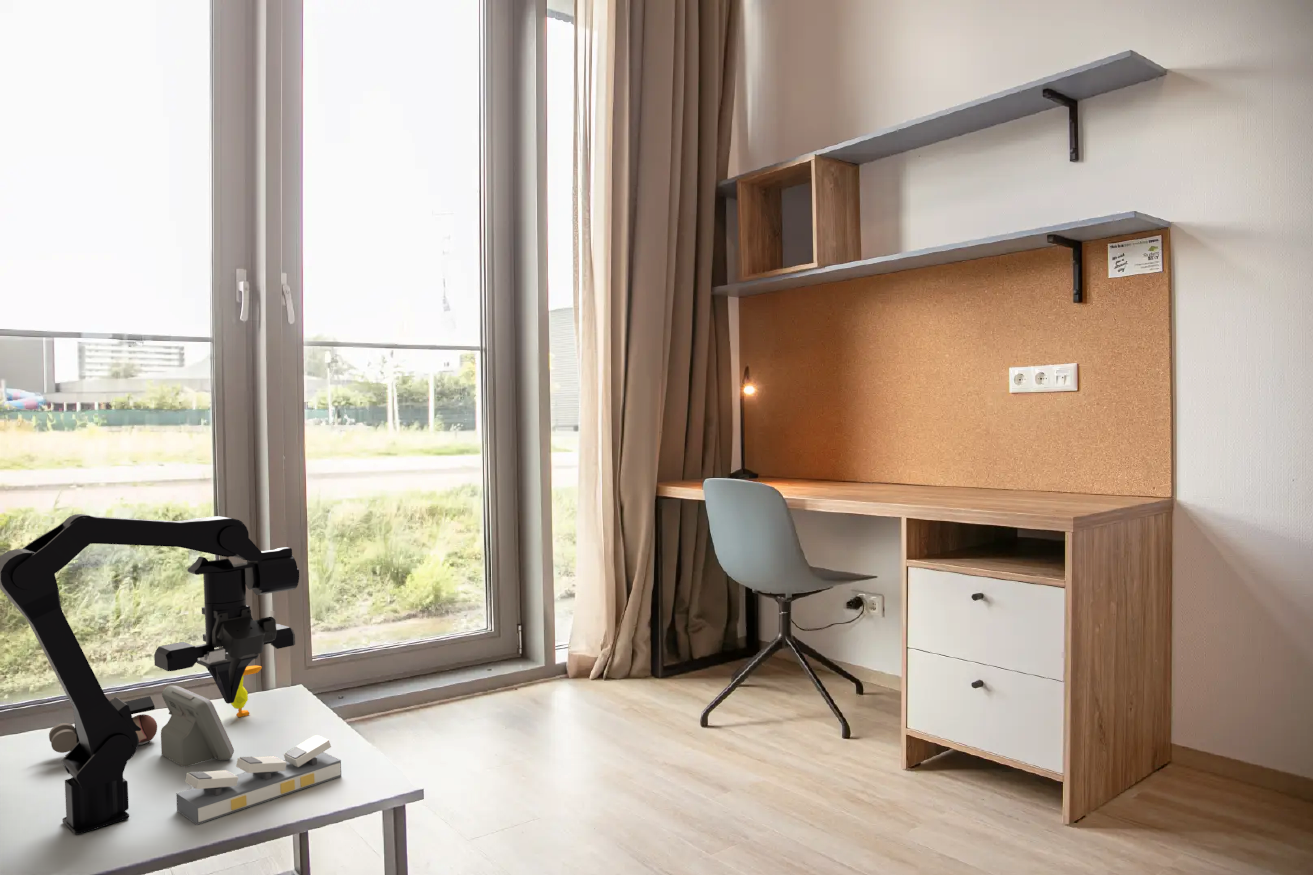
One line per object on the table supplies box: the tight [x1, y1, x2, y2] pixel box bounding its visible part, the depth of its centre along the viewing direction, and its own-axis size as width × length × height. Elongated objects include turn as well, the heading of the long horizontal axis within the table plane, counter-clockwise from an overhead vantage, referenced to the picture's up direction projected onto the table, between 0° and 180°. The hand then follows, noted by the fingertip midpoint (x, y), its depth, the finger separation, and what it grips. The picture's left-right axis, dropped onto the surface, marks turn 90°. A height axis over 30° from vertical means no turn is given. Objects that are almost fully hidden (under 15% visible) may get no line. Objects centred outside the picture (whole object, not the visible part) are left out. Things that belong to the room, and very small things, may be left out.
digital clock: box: [160, 685, 235, 768], centre depth 149 cm, size 16×9×11 cm, turn 37°
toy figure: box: [230, 665, 263, 718], centre depth 169 cm, size 7×4×12 cm, turn 127°
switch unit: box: [175, 751, 342, 825], centre depth 132 cm, size 21×7×3 cm, turn 138°
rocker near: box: [184, 769, 238, 789], centre depth 127 cm, size 6×4×1 cm
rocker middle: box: [235, 755, 287, 773], centre depth 132 cm, size 6×4×1 cm
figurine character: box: [48, 695, 158, 757], centre depth 152 cm, size 7×8×15 cm
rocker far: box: [282, 734, 332, 767], centre depth 137 cm, size 6×4×1 cm
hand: (229, 702), depth 137 cm, fingers closed
